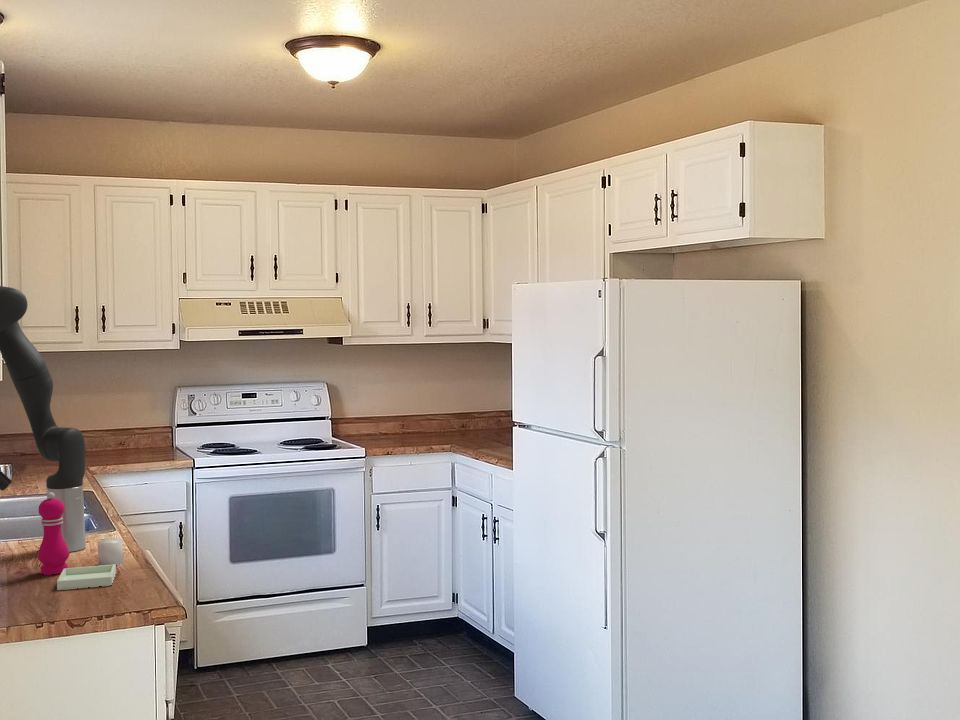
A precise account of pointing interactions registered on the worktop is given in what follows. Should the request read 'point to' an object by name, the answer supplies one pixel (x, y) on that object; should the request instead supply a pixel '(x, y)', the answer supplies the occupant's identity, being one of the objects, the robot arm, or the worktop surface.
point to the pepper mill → (52, 537)
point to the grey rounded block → (110, 552)
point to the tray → (86, 577)
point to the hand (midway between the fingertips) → (7, 486)
